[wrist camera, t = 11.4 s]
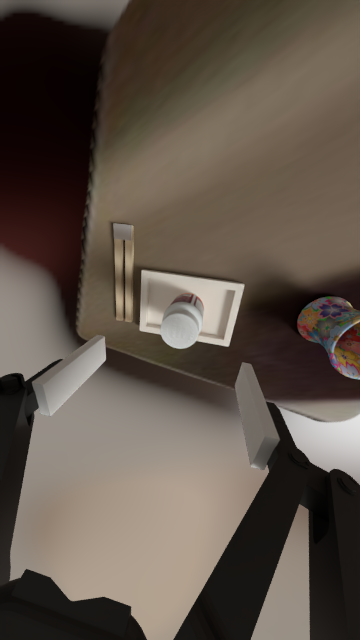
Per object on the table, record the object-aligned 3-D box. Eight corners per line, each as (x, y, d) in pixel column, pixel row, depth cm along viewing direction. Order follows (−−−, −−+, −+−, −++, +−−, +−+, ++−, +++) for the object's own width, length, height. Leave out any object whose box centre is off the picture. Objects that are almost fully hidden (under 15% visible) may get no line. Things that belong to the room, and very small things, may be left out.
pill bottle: (167, 312, 34) (148, 337, 23) (182, 285, 31) (169, 300, 21) (193, 328, 34) (186, 360, 24) (210, 303, 32) (211, 326, 21)
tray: (145, 269, 32) (141, 270, 30) (242, 282, 30) (244, 284, 28) (143, 326, 36) (139, 330, 35) (227, 341, 35) (228, 346, 33)
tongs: (116, 224, 30) (113, 223, 29) (134, 226, 30) (131, 225, 29) (118, 318, 37) (116, 320, 36) (132, 320, 36) (130, 322, 35)
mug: (281, 319, 31) (313, 349, 22) (329, 281, 28) (393, 295, 18) (323, 359, 33) (372, 403, 23) (374, 327, 29) (457, 363, 20)
